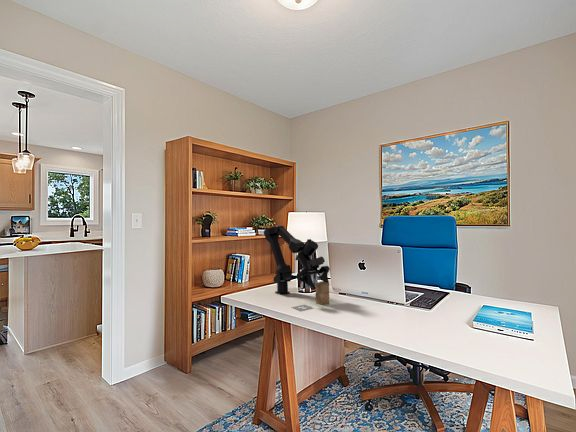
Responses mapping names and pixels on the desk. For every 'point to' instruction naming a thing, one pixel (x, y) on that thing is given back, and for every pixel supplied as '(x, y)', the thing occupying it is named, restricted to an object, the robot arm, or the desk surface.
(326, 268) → the robot arm
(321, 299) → the walnut block
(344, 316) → the desk surface
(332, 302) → the sage plate
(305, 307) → the slate tile
